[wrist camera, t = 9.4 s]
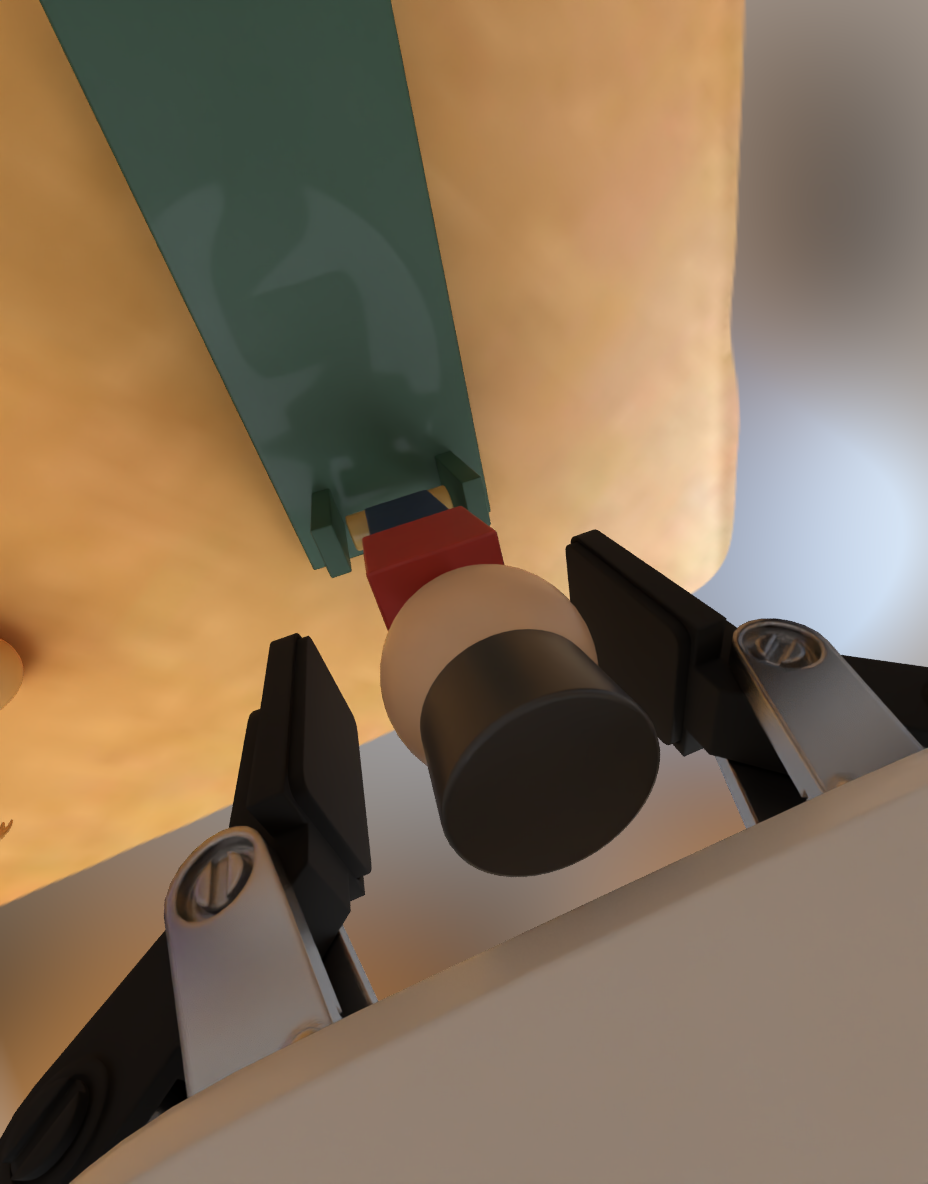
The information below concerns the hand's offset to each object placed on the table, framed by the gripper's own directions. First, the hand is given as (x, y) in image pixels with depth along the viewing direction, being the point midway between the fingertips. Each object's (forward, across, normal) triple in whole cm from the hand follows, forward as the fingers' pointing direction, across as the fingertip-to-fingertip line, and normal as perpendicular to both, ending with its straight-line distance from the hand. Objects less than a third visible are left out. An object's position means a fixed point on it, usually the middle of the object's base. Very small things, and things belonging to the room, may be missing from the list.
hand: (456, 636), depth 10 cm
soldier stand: (+13, 0, -6) cm, 14 cm away
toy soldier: (+2, 0, -3) cm, 3 cm away
